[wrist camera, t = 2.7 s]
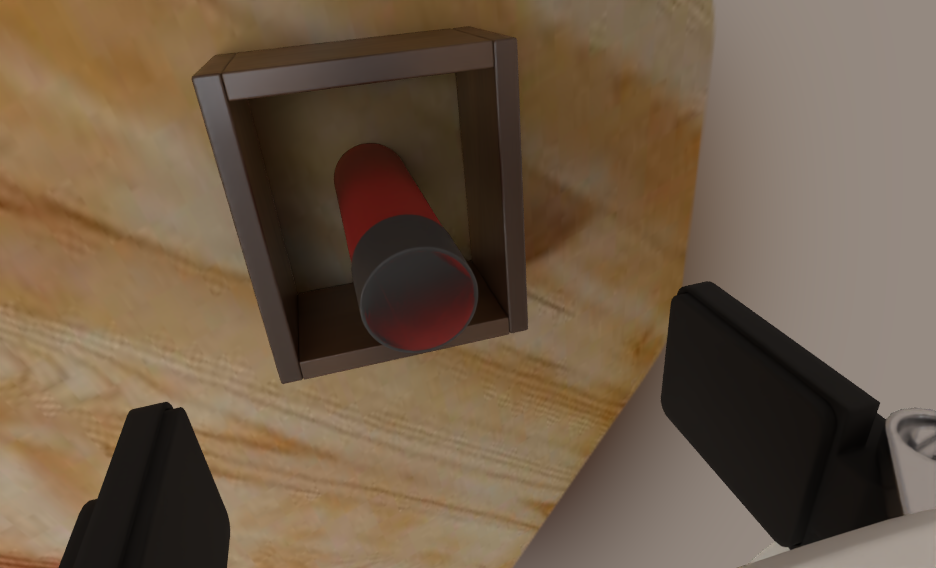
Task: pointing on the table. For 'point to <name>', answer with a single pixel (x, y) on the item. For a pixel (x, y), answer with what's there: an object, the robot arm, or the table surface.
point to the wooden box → (485, 169)
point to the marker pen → (401, 255)
